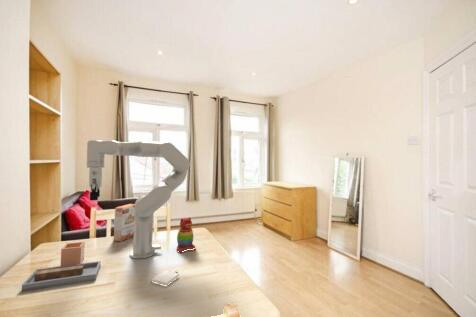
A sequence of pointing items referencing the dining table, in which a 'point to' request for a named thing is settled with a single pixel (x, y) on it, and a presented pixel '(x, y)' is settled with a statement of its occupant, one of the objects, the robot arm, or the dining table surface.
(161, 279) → the perfume bottle
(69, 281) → the grey tray
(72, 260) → the square clay planter
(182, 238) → the stacking bear
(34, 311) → the dining table surface
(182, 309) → the dining table surface
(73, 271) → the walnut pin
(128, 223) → the cracker box
